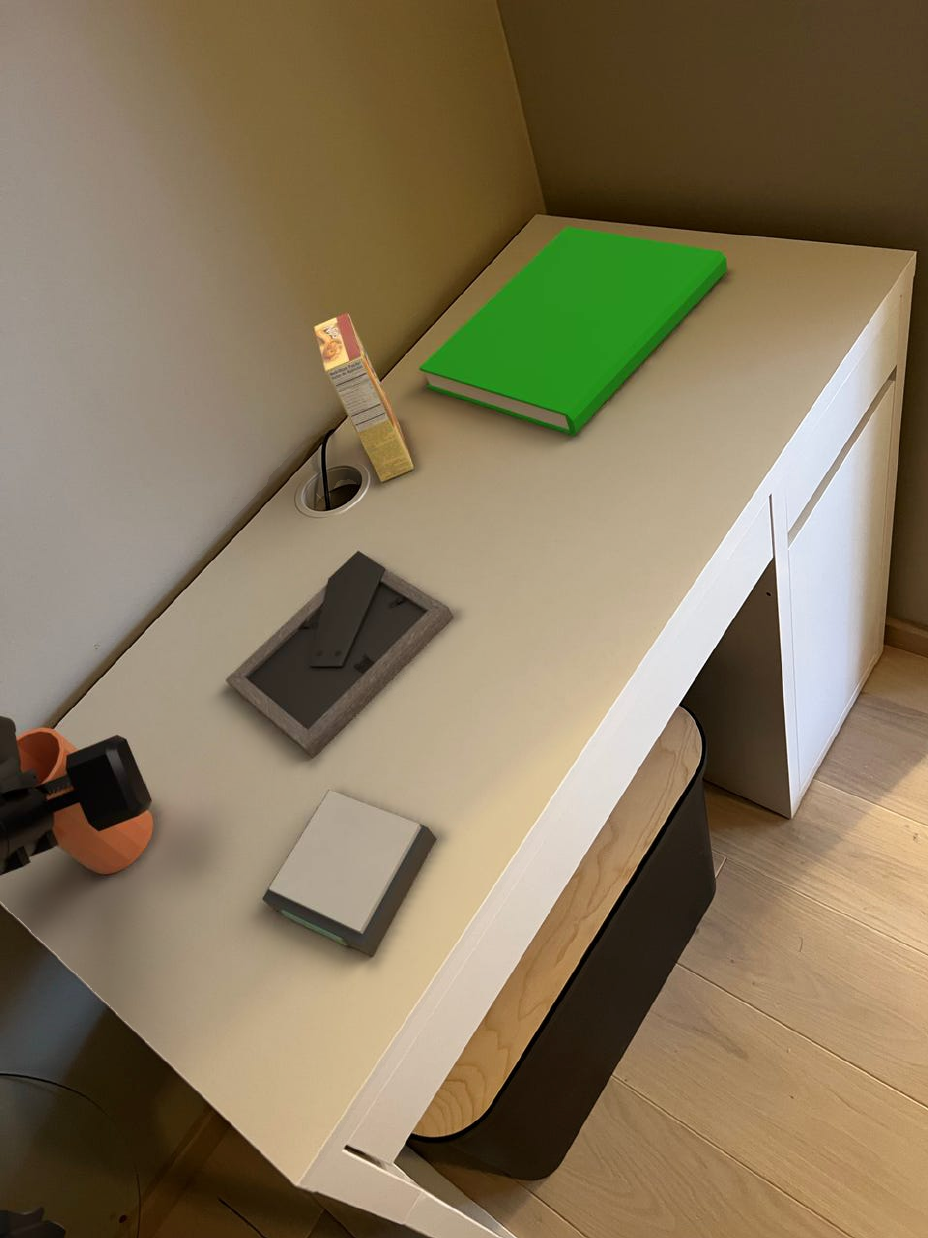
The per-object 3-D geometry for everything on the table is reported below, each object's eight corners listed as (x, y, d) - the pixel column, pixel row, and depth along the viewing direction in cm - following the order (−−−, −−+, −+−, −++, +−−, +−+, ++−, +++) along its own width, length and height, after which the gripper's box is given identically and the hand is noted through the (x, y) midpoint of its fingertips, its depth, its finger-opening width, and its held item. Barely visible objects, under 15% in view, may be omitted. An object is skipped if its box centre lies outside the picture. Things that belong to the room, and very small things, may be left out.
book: (427, 388, 112) (418, 367, 110) (572, 247, 121) (566, 226, 119) (577, 437, 99) (571, 415, 97) (728, 275, 108) (725, 251, 106)
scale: (371, 959, 71) (357, 947, 69) (271, 911, 76) (256, 898, 74) (436, 838, 75) (425, 823, 73) (338, 800, 80) (325, 785, 78)
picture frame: (365, 563, 97) (233, 689, 92) (358, 550, 96) (223, 677, 91) (453, 617, 89) (313, 758, 84) (446, 603, 88) (303, 746, 82)
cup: (109, 888, 82) (10, 819, 73) (71, 849, 86) (-28, 778, 77) (167, 826, 84) (78, 751, 75) (127, 790, 88) (38, 714, 79)
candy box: (367, 437, 110) (310, 326, 99) (401, 423, 110) (347, 309, 99) (381, 484, 104) (322, 371, 93) (417, 468, 104) (362, 354, 93)
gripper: (44, 686, 65) (136, 660, 80) (-198, 785, 66) (-61, 740, 82) (108, 839, 65) (188, 783, 81) (-134, 933, 67) (-10, 861, 82)
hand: (74, 789), depth 81 cm, fingers open, 8 cm apart
